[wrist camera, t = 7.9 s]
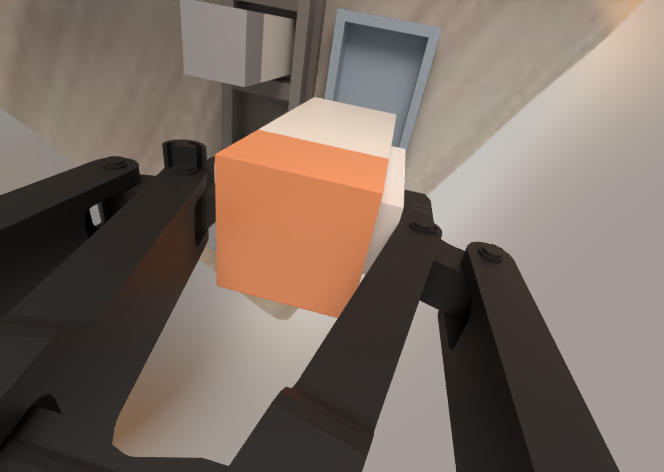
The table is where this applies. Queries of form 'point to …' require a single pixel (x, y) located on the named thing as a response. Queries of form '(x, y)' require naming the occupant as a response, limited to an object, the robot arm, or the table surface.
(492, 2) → the table surface
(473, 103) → the table surface
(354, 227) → the block
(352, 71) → the tray
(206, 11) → the block
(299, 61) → the block
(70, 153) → the table surface
